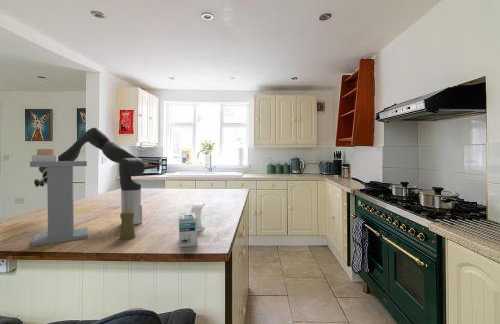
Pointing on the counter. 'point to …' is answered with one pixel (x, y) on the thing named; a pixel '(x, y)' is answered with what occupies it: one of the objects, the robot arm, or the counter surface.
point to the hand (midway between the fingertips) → (53, 181)
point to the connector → (45, 151)
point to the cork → (127, 226)
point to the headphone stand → (198, 214)
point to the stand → (59, 200)
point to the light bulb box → (187, 229)
